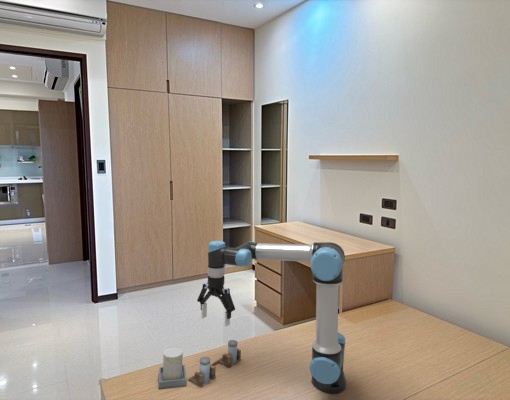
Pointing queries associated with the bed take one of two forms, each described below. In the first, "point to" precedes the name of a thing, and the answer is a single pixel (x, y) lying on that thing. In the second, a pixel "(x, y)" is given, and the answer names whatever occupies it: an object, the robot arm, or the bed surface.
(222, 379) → the bed surface
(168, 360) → the light grey canister
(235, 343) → the fuse
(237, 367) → the bed surface
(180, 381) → the tray
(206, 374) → the grey rounded cylinder
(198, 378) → the clip rack
